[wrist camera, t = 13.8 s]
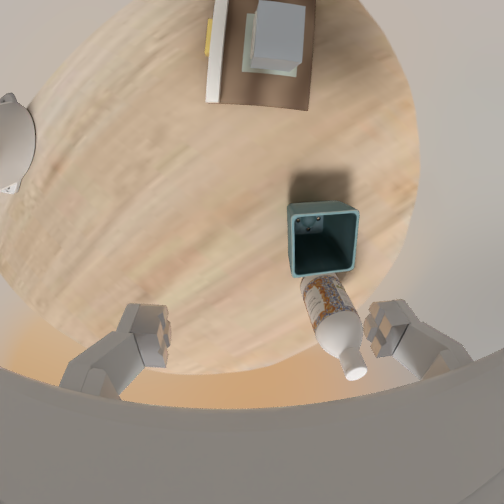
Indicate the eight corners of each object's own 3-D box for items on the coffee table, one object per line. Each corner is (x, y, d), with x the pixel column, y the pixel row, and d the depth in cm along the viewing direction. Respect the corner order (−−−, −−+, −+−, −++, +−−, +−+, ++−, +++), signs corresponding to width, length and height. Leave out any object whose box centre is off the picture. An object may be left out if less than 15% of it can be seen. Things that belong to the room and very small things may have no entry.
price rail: (203, 103, 31) (200, 101, 28) (214, -12, 22) (213, -21, 20) (219, 103, 31) (218, 102, 28) (230, -12, 22) (230, -21, 20)
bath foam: (312, 261, 45) (353, 352, 27) (344, 274, 47) (392, 359, 29) (292, 293, 48) (319, 387, 30) (324, 303, 49) (359, 391, 32)
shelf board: (208, 103, 32) (207, 103, 31) (219, -8, 24) (219, -13, 22) (305, 110, 33) (308, 110, 32) (312, 1, 25) (316, -2, 23)
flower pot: (336, 189, 39) (360, 209, 31) (334, 241, 43) (354, 270, 35) (278, 192, 39) (290, 214, 31) (281, 246, 43) (291, 278, 35)
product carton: (248, 67, 29) (252, 56, 23) (252, 19, 25) (257, -1, 19) (289, 71, 29) (301, 62, 23) (292, 23, 26) (305, 6, 19)
